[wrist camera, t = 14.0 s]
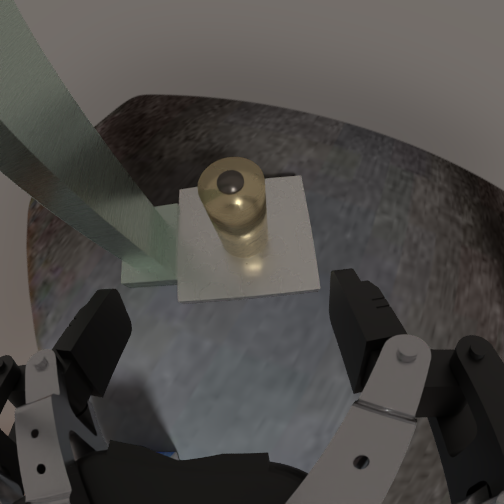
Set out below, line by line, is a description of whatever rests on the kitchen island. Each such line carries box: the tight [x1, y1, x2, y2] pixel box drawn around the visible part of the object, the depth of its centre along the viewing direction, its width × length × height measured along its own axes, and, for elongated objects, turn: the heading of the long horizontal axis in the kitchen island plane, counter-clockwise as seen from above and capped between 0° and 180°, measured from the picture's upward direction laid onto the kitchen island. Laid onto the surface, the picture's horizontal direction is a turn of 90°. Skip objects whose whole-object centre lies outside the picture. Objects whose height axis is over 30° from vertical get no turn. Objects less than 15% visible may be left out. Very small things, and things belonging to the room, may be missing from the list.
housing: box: [198, 157, 268, 258], centre depth 22 cm, size 4×4×9 cm
